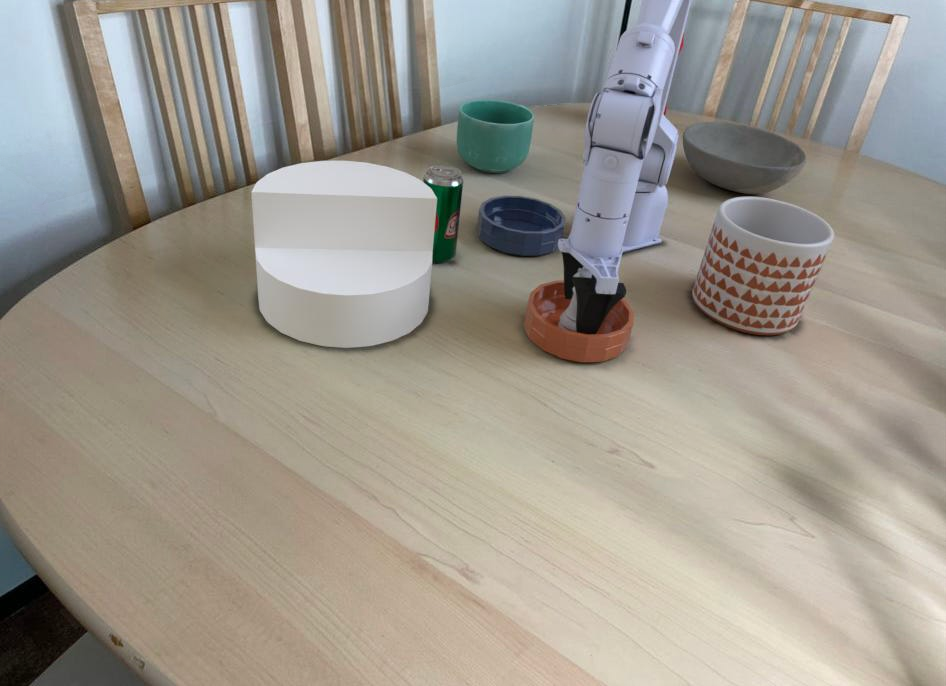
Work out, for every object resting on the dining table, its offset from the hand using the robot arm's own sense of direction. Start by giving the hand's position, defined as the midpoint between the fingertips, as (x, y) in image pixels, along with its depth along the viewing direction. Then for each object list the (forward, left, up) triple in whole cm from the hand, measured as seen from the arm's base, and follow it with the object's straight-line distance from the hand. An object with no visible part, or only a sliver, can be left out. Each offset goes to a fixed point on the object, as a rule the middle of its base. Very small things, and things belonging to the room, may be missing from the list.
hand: (579, 315), depth 86 cm
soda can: (+5, -23, -3) cm, 24 cm away
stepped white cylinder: (+21, -18, -3) cm, 28 cm away
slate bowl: (-9, -23, -3) cm, 25 cm away
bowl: (-59, -25, -3) cm, 64 cm away
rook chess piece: (0, 0, -2) cm, 2 cm away
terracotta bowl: (0, 0, -3) cm, 3 cm away
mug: (-23, -48, -3) cm, 53 cm away
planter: (-25, +5, -3) cm, 26 cm away
